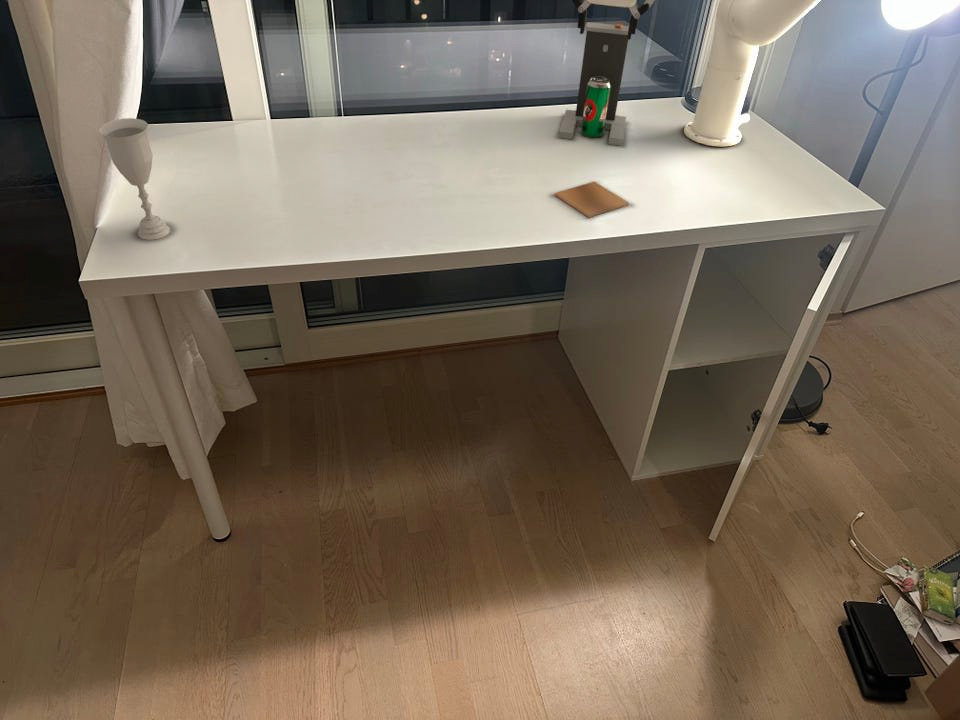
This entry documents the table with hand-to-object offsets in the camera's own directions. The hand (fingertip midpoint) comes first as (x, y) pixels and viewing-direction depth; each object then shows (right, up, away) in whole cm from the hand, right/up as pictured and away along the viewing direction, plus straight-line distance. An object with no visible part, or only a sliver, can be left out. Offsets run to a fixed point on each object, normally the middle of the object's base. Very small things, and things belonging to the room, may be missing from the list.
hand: (605, 34), depth 144 cm
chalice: (-81, -45, -26) cm, 96 cm away
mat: (-5, -36, -10) cm, 38 cm away
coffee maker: (0, -14, +16) cm, 21 cm away
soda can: (-1, -16, +14) cm, 21 cm away
